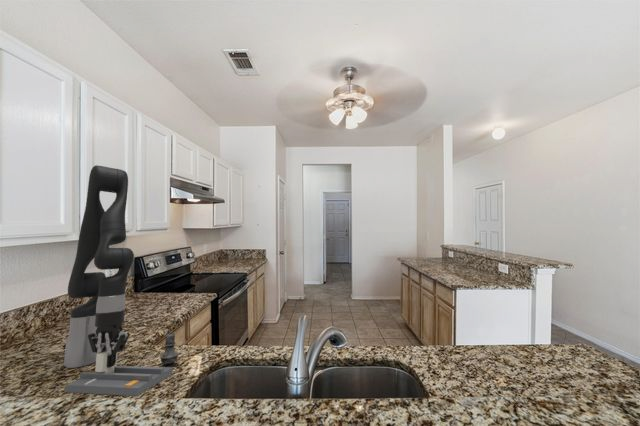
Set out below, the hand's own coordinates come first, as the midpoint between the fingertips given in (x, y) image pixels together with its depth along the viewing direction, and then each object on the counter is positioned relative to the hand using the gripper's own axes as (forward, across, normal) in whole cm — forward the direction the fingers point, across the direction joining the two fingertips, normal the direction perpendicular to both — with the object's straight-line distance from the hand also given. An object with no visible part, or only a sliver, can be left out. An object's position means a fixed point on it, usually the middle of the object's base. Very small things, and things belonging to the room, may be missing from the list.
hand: (106, 366), depth 85 cm
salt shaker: (+5, +12, +13) cm, 18 cm away
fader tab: (+2, 0, 0) cm, 2 cm away
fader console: (+5, +6, 0) cm, 8 cm away
